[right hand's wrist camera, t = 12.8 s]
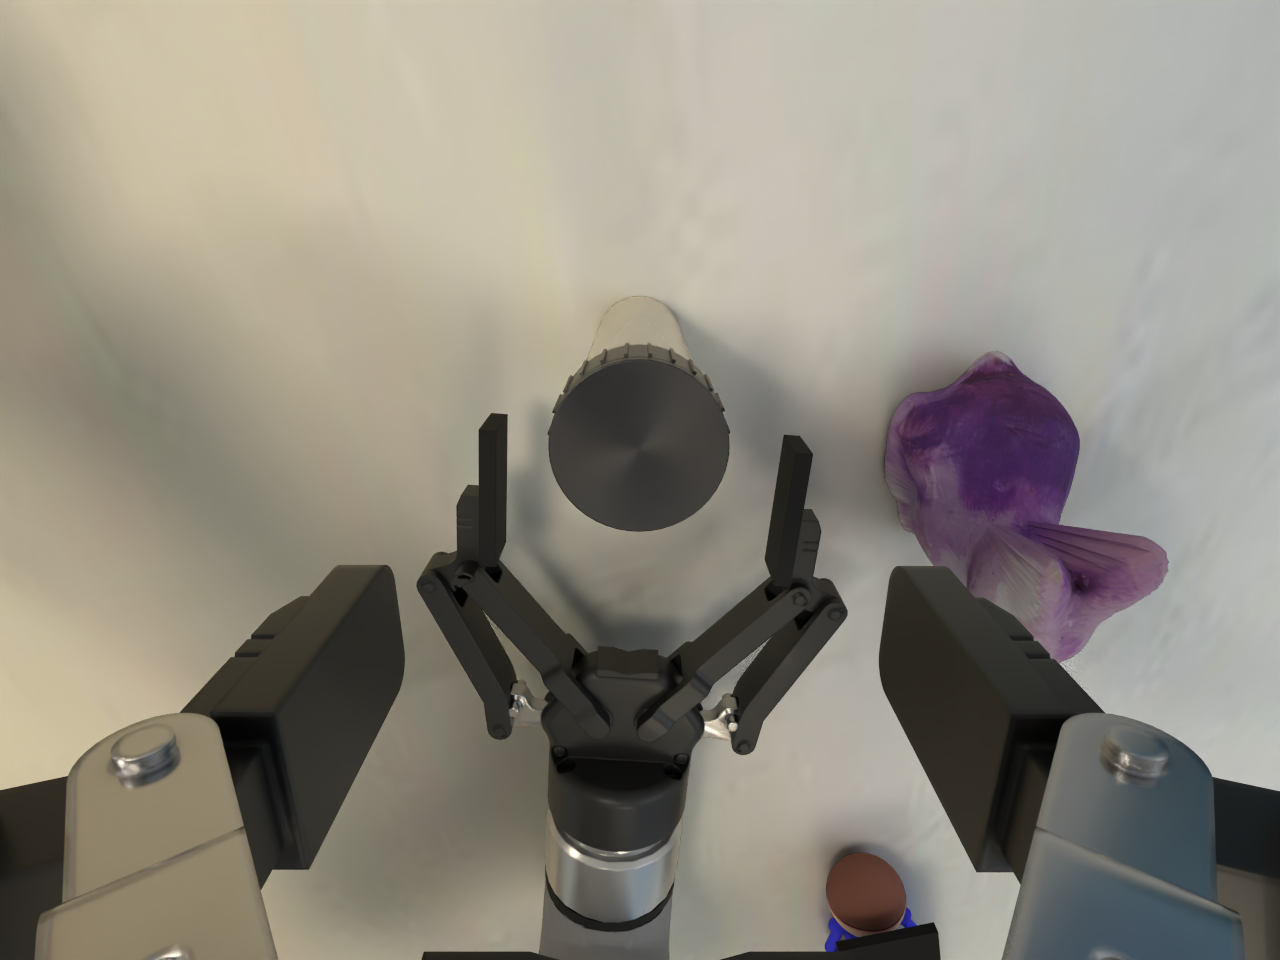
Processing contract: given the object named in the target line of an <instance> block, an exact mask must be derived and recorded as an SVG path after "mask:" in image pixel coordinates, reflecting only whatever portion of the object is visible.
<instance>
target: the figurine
mask: <svg viewBox="0 0 1280 960" xmlns="http://www.w3.org/2000/svg"><path fill="white" fill-rule="evenodd" d="M1079 449H1080V439H1079V435H1078V431H1077V429H1076V427H1075V425H1074V423H1073V421H1072V419H1071V417H1070V415H1069V414H1068V412H1067V411H1066V409H1065V408H1064V407H1063V405H1062V404H1061V403H1060V402H1059V401H1058V400H1057V399H1056V398H1055V397H1054V396H1053V395H1052V394H1051V393H1050V392H1049V391H1047V390H1046V389H1045V388H1043V387H1042V386H1040V385H1038V384H1037V383H1035V382H1033V381H1032V380H1031V379H1029V378H1028V377H1027V376H1025V375H1024V374H1023V373H1022V372H1021V371H1020V370H1019V369H1018V368H1017V367H1016V365H1015V364H1014V363H1013V361H1012V360H1011V359H1010V358H1009V357H1008V356H1007V355H1005V354H1003V353H1001V352H999V351H992V352H988V353H986V354H984V355H982V356H980V357H979V358H978V359H976V361H975V362H974V363H973V364H972V366H971V367H970V368H969V369H968V370H967V371H966V372H965V373H964V374H963V375H962V376H961V377H960V378H959V379H957V380H956V381H955V382H954V383H953V384H952V385H950V386H948V387H946V388H944V389H940V390H936V391H933V392H918V393H914V394H912V395H909V396H908V397H907V398H905V399H904V400H903V401H902V402H901V403H900V405H899V406H898V407H897V409H896V410H895V412H894V414H893V416H892V418H891V421H890V426H889V430H888V437H887V445H886V453H885V460H884V462H885V480H886V482H887V485H888V487H889V490H890V492H891V494H892V496H894V497H895V498H897V501H896V502H897V504H898V512H899V518H900V523H901V524H902V526H903V528H904V529H905V530H906V531H908V532H912V533H913V534H915V535H916V538H917V540H918V542H919V543H920V545H921V547H922V549H923V550H924V552H925V554H926V555H927V557H928V558H929V560H930V561H931V562H932V564H933V565H934V566H946V567H948V568H949V569H950V570H951V571H952V572H953V573H954V574H955V575H956V577H957V578H958V579H959V580H960V581H961V582H962V583H963V585H964V586H965V587H966V588H967V589H968V590H969V591H970V593H971V594H972V595H973V596H974V597H975V598H985V599H987V600H989V601H990V602H992V603H994V604H995V605H997V606H999V607H1000V608H1002V609H1004V610H1005V611H1007V612H1009V613H1010V614H1012V615H1014V616H1015V617H1016V618H1017V619H1018V620H1019V621H1020V623H1021V624H1022V625H1023V626H1024V627H1025V628H1026V629H1027V630H1028V631H1029V632H1030V633H1031V634H1032V635H1033V636H1034V641H1038V642H1039V643H1040V644H1041V645H1042V646H1043V647H1044V648H1045V649H1046V650H1047V651H1048V653H1049V654H1050V658H1051V659H1055V660H1056V661H1057V662H1058V663H1061V662H1062V661H1065V660H1067V659H1069V658H1072V657H1073V656H1075V655H1076V654H1077V653H1078V652H1080V651H1081V650H1082V649H1083V648H1084V646H1085V645H1086V644H1087V643H1088V641H1089V639H1090V637H1091V636H1092V634H1093V632H1094V630H1095V629H1096V627H1097V626H1098V625H1099V624H1100V623H1101V622H1102V621H1104V620H1106V619H1107V618H1109V617H1111V616H1112V615H1113V614H1115V613H1116V612H1119V611H1121V610H1124V609H1126V608H1128V607H1129V606H1131V605H1133V604H1135V603H1136V602H1138V601H1139V600H1141V599H1143V598H1144V597H1145V596H1147V595H1149V594H1151V592H1152V591H1154V590H1156V589H1157V588H1158V586H1159V585H1160V584H1161V583H1162V582H1163V579H1164V577H1165V575H1166V573H1167V572H1168V568H1167V565H1168V563H1169V561H1168V559H1167V557H1166V552H1165V550H1164V549H1163V548H1162V547H1160V546H1159V545H1158V544H1156V543H1155V542H1154V541H1152V540H1149V539H1147V538H1145V537H1142V536H1135V535H1127V534H1120V533H1113V532H1106V531H1099V530H1092V529H1085V528H1078V527H1070V526H1063V525H1059V521H1060V517H1061V513H1062V510H1063V508H1064V505H1065V502H1066V500H1067V497H1068V494H1069V492H1070V488H1071V484H1072V481H1073V477H1074V473H1075V468H1076V464H1077V460H1078V455H1079Z"/></svg>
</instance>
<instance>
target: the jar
mask: <svg viewBox="0 0 1280 960" xmlns="http://www.w3.org/2000/svg"><path fill="white" fill-rule="evenodd" d="M648 342H650V343H651V344H652V345H653V346H658V347H662V348H665V349H668V350H669V349H670V348H673V349H674V352H675V353H677V354H679V355H681V356H683V357H684V358H686V359H687V360H689V359H691V357H690V354H689V351H688V348H687V346H686V343H685V340H684V337H683V334H682V332H681V329H680V326H679V323H678V321H677V319H676V317H675V315H674V314H673V312H672V311H671V310H670V309H669V308H668V307H667V306H666V305H664V304H663V303H661V302H660V301H658V300H656V299H653V298H650V297H645V296H634V297H629V298H626V299H623V300H621V301H619V302H617V303H616V304H614V305H613V306H612V307H611V308H610V309H609V310H608V311H607V312H606V313H605V315H604V317H603V318H602V320H601V323H600V325H599V328H598V331H597V333H596V336H595V339H594V342H593V344H592V347H591V350H590V352H589V355H588V358H587V360H588V361H590V360H591V359H592V358H594V357H595V356H597V355H599V354H601V353H602V352H603V349H605V348H606V349H607V350H610V349H613V348H616V347H620V346H625V343H629V345H634V344H643V345H648Z"/></svg>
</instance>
